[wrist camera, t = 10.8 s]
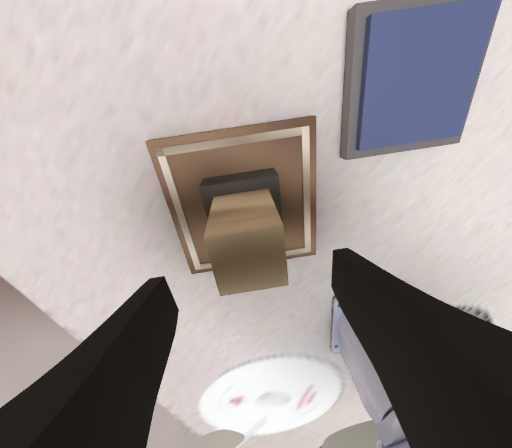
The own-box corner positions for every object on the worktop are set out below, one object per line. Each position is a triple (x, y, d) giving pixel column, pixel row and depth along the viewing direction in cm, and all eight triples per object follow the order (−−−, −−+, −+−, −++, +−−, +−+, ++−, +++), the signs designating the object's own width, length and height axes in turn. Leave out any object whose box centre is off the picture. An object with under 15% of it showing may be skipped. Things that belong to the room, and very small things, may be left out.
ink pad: (446, 141, 16) (466, 143, 15) (340, 157, 16) (349, 161, 15) (487, -9, 12) (518, -24, 11) (347, 11, 12) (361, -1, 11)
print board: (313, 250, 20) (316, 255, 19) (193, 269, 19) (191, 275, 19) (313, 115, 14) (316, 115, 14) (148, 140, 14) (144, 141, 14)
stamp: (279, 228, 18) (303, 293, 11) (218, 238, 17) (209, 308, 11) (273, 167, 15) (299, 206, 9) (203, 178, 15) (180, 225, 9)
